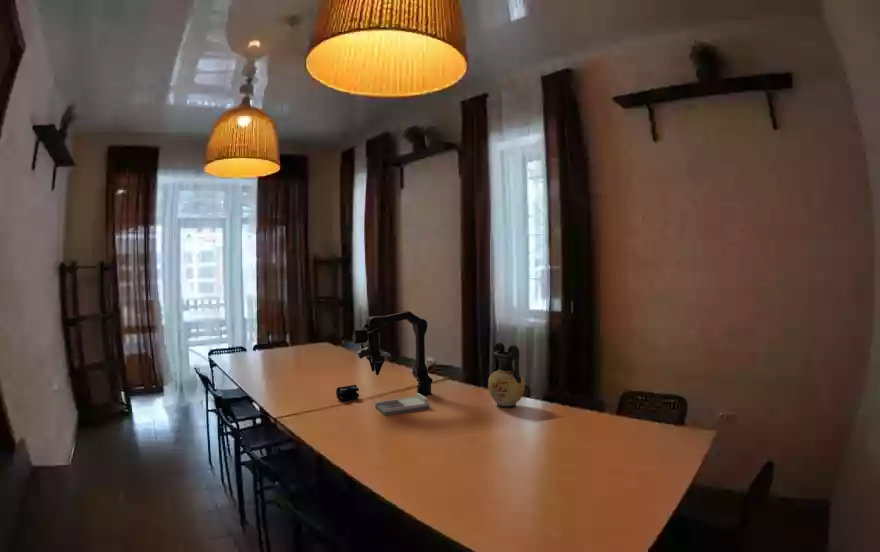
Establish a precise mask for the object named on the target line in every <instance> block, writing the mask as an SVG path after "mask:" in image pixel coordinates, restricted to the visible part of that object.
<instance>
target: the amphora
mask: <svg viewBox="0 0 880 552" xmlns="http://www.w3.org/2000/svg"><path fill="white" fill-rule="evenodd" d="M505 348H506V347H505V345H504V343H503V342H496V343H495V344H494V346H493V355H494V368H493V372H492V373H490V375H489V377H488V382H487V388H488V391H489V394H490V396H491V397H492V400H493V401H495V403H496V408H497V409H498V410H501V411H504V410H505V411H510V410H511V411H512V410H515V409H516V408H517V403H518V402H519V401H520V400H521V398H522V397H523V395H524V392H525V385H526V384H525V378H524V377H523V375H522V374H521V373H520V349H519V347H518V346H517V345H516V344H511V345H509V346H508V348H507V350H505ZM513 363H514V364H513Z"/></svg>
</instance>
